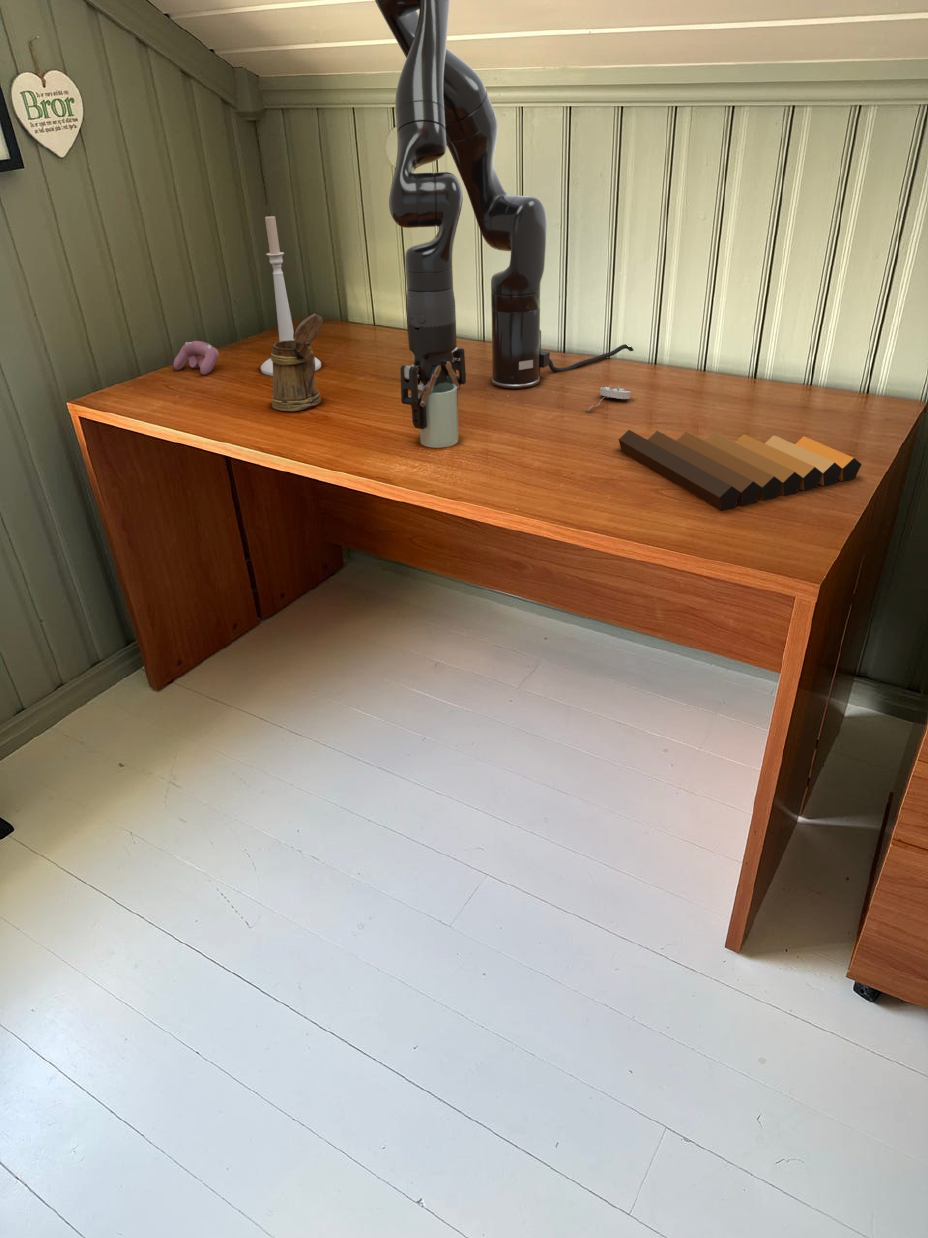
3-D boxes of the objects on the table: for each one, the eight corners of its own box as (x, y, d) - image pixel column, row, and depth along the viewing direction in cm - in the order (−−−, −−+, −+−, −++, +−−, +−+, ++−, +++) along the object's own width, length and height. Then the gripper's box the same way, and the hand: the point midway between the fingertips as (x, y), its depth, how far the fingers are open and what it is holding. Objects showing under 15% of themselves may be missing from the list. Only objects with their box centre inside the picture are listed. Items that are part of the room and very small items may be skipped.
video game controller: (218, 379, 181) (224, 345, 179) (202, 374, 177) (207, 340, 176) (187, 373, 185) (192, 340, 184) (170, 368, 181) (175, 335, 180)
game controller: (633, 395, 157) (634, 381, 156) (619, 415, 148) (620, 401, 147) (603, 392, 159) (604, 379, 158) (587, 412, 150) (588, 398, 149)
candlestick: (333, 363, 182) (315, 211, 166) (294, 379, 173) (272, 219, 157) (288, 356, 188) (267, 208, 172) (248, 371, 179) (222, 217, 163)
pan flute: (617, 452, 133) (717, 511, 114) (619, 431, 132) (720, 488, 112) (744, 426, 141) (858, 477, 122) (747, 406, 140) (863, 455, 120)
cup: (435, 431, 144) (432, 379, 139) (466, 438, 141) (464, 384, 136) (412, 443, 140) (408, 389, 135) (443, 450, 137) (441, 395, 132)
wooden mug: (307, 420, 151) (293, 316, 142) (263, 405, 159) (247, 306, 150) (345, 407, 157) (334, 306, 147) (300, 393, 165) (287, 297, 155)
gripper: (439, 307, 137) (443, 405, 145) (383, 325, 127) (391, 429, 135) (477, 311, 133) (479, 412, 141) (422, 330, 123) (428, 437, 132)
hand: (436, 420), depth 138 cm, fingers open, 8 cm apart
